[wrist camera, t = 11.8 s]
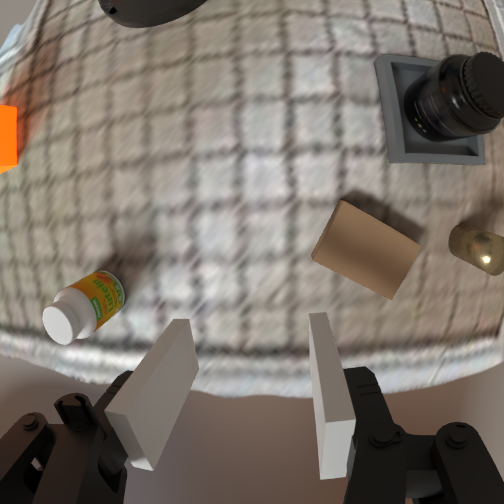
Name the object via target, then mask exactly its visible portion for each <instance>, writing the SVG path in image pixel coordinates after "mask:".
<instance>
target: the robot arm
mask: <svg viewBox="0 0 504 504" xmlns="http://www.w3.org/2000/svg"><path fill="white" fill-rule="evenodd" d="M98 1H99V4H100V7H101V8H102V10H103V11H104V13H105V14H106V15H107V16H109V17H110V18H111V19H112V20H114V21H115V22H116V23H118V24H120V25H122V26H125V27H130V28H145V27H152V26H156V25H160V24H164V23H167V22H169V21H172V20H174V19H177V18H179V17H181V16H183V15H185V14H187V13H188V12H190V11H192V10H193V9H195V8H196V7H198V6H199V5H200V4H202V3H203V2H204V1H205V0H98ZM309 340H310V371H311V380H312V389H313V399H314V408H315V419H316V429H317V441H318V452H319V465H320V478H321V479H331V478H339V477H345V476H346V471H347V472H348V479H349V481H348V485H347V489H346V493H345V497H344V502H343V504H405V498H412V501H413V504H504V482H503V480H502V477H501V476H500V473H499V471H498V470H497V467H496V465H495V463H494V461H493V460H492V458H491V456H490V454H489V452H488V451H487V448H486V446H485V445H484V443H483V441H482V439H481V437H480V436H479V434H478V432H477V431H476V430H475V429H474V428H473V427H472V426H470V425H468V424H467V423H462V422H454V423H449V424H446V425H444V426H443V427H442V428H440V430H438V432H437V434H436V435H411V434H408V433H406V432H405V431H404V430H403V428H402V427H401V426H399V425H397V424H395V423H394V422H393V420H392V417H391V414H390V412H389V409H388V407H387V405H386V402H385V399H384V397H383V394H382V393H381V389H380V387H379V385H378V382H377V379H376V377H375V374H374V373H373V372H372V371H370V370H369V369H368V368H367V367H365V366H364V367H356V368H348V369H343V368H342V364H341V361H340V357H339V354H338V350H337V347H336V343H335V340H334V336H333V333H332V330H331V326H330V323H329V320H328V316H327V313H326V312H323V313H311V314H309ZM198 370H199V365H198V361H197V356H196V351H195V346H194V342H193V337H192V332H191V326H190V321H189V319H173V321H172V322H171V323H170V324H169V326H168V327H167V328H166V330H165V331H164V332H163V334H162V335H161V336H160V337H159V339H158V340H157V341H156V343H155V344H154V345H153V347H152V348H151V349H150V350H149V352H148V353H147V354H146V356H145V357H144V358H143V360H142V361H141V362H140V364H139V365H138V366H137V368H136V369H135V370H134V371H128V370H127V371H125V372H124V373H122V374H121V375H119V376H118V377H117V378H116V379H115V380H114V382H113V383H112V384H111V386H110V387H109V388H108V389H107V390H106V393H104V394H103V395H102V397H101V398H100V399H99V400H98V402H97V403H96V404H95V405H94V407H92V405H91V403H90V401H89V399H88V397H87V396H86V395H84V394H80V393H72V394H68V395H65V396H63V397H61V398H59V399H58V400H57V401H56V402H55V404H54V406H55V408H56V410H57V411H58V414H59V415H60V417H61V419H62V421H63V423H64V424H48V422H47V420H46V419H45V417H44V415H42V414H41V413H36V412H33V413H28V414H26V415H24V416H22V417H21V418H20V419H19V420H18V421H17V422H16V423H15V424H14V425H13V426H12V427H11V428H10V429H9V430H8V432H7V433H6V434H5V435H4V436H3V437H2V438H1V439H0V504H123V502H124V494H125V486H126V480H127V469H126V468H125V466H124V463H125V461H126V459H127V457H128V458H129V459H130V461H131V463H132V465H133V466H134V467H138V468H142V469H147V470H152V471H153V470H154V468H155V466H156V464H157V462H158V459H159V457H160V455H161V453H162V450H163V448H164V446H165V443H166V442H167V439H168V437H169V435H170V433H171V430H172V428H173V425H174V423H175V421H176V419H177V417H178V415H179V412H180V410H181V408H182V406H183V403H184V401H185V399H186V397H187V394H188V392H189V390H190V388H191V386H192V383H193V381H194V379H195V377H196V375H197V372H198ZM34 458H36V460H37V461H38V463H39V464H40V465H41V467H40V468H38V469H35V467H34V466H33V465H32V464H31V462H32V461H33V459H34Z"/></svg>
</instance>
